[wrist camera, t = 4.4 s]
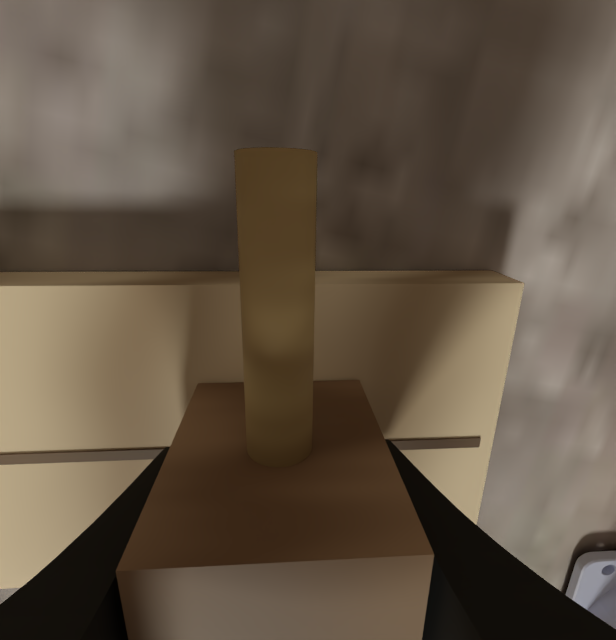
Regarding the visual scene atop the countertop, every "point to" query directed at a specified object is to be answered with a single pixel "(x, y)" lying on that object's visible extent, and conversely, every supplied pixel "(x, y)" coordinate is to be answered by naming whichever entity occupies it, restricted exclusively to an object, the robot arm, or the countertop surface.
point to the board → (226, 380)
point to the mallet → (277, 468)
